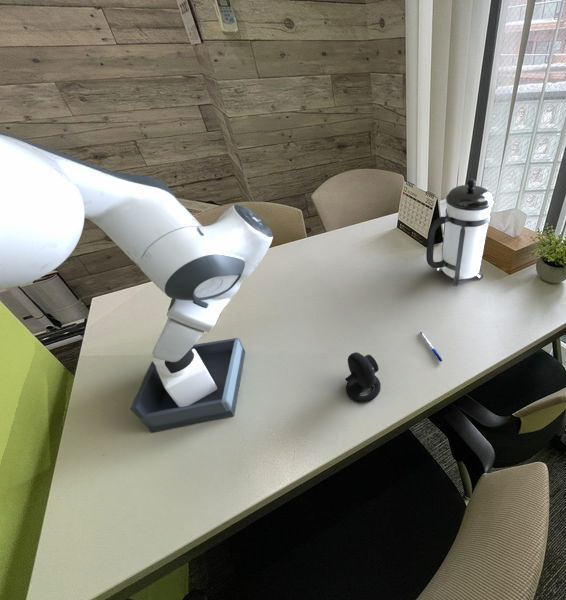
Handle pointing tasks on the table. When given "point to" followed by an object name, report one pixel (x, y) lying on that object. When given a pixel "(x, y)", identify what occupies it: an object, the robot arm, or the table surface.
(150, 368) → the drawer
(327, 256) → the table surface
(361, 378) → the webcam
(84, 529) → the table surface
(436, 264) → the coffee press
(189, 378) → the medicine bottle
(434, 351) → the ballpoint pen
